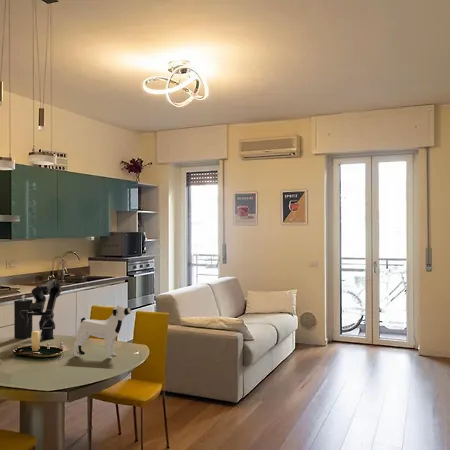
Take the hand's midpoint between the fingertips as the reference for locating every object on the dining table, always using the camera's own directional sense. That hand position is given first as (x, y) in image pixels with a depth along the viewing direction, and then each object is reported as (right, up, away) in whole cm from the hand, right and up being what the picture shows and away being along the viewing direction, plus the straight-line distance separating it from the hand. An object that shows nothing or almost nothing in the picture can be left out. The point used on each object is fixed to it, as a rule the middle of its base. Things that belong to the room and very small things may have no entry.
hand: (34, 326), depth 274 cm
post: (+4, -12, -8) cm, 15 cm away
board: (+9, -13, -6) cm, 17 cm away
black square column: (-19, -14, +28) cm, 36 cm away
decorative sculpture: (+46, -13, -16) cm, 50 cm away
